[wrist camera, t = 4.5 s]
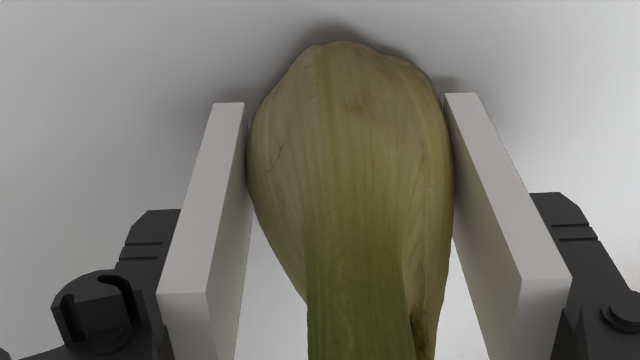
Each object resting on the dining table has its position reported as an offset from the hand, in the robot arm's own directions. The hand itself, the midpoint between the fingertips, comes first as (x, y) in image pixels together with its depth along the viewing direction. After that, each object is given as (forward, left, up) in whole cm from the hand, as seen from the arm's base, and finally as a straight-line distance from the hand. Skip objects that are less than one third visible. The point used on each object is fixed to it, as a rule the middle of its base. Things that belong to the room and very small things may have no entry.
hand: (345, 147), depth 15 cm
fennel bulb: (0, 0, -2) cm, 2 cm away
